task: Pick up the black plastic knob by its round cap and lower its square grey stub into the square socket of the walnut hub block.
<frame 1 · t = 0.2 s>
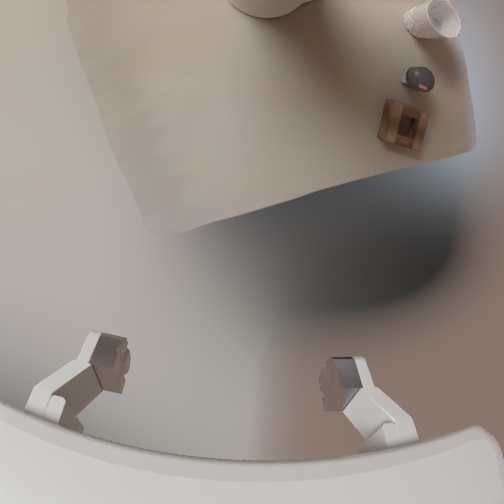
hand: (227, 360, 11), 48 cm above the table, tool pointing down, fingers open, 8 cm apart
knob: (408, 78, 44), on the table
white cup: (416, 23, 38), on the table
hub: (398, 123, 50), on the table
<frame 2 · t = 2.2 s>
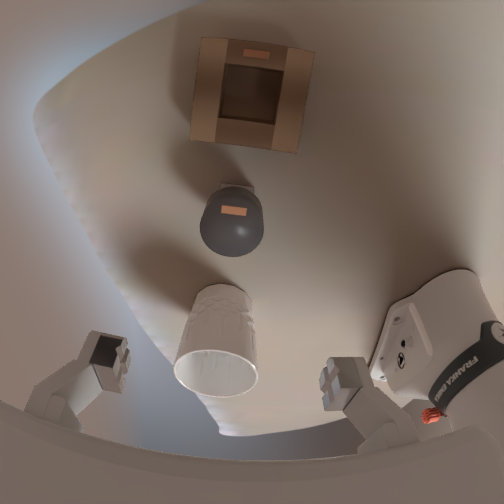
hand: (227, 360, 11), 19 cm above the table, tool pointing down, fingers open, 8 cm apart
knob: (235, 200, 28), on the table
white cup: (223, 304, 34), on the table
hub: (250, 92, 22), on the table
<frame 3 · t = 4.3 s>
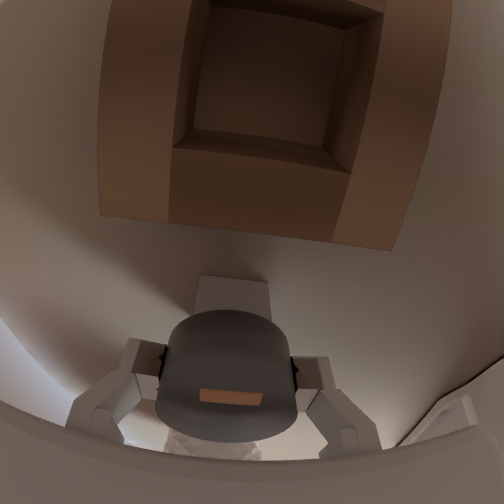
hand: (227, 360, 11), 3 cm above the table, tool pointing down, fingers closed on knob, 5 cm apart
knob: (230, 303, 14), on the table, touching gripper
white cup: (214, 419, 21), on the table
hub: (267, 74, 9), on the table
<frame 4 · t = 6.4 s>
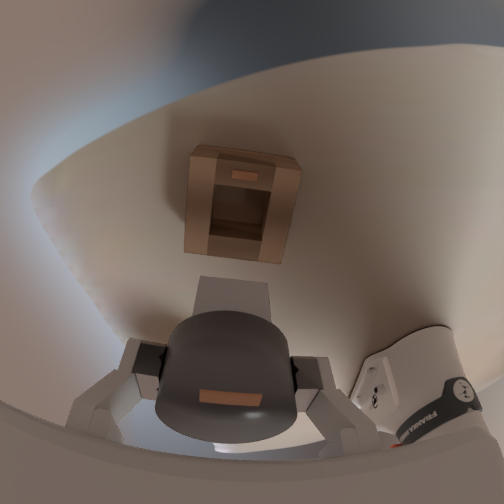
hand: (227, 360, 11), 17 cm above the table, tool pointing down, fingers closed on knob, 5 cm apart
knob: (230, 304, 14), point 14 cm above the table, touching gripper
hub: (239, 194, 26), on the table
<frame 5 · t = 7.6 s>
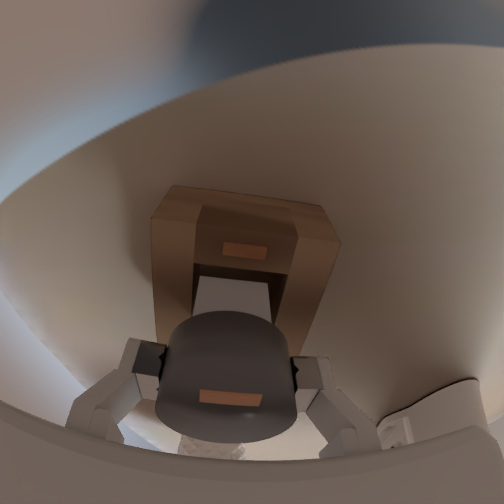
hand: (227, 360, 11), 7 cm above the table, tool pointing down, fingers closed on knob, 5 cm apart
knob: (230, 304, 14), point 4 cm above the table, touching gripper
white cup: (213, 425, 30), on the table
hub: (237, 258, 18), on the table
when the fingers open (5 cm above the table, at t = 8.3 s): knob stays where it is, resting on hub.
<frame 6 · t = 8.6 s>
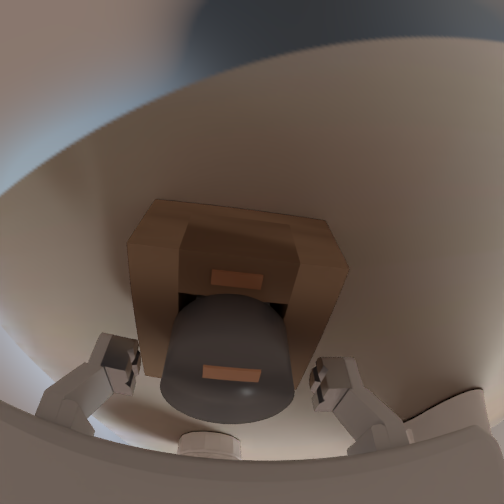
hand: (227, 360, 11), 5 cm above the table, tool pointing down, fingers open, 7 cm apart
knob: (231, 292, 15), point 1 cm above the table, touching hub
white cup: (210, 440, 28), on the table
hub: (231, 279, 16), on the table
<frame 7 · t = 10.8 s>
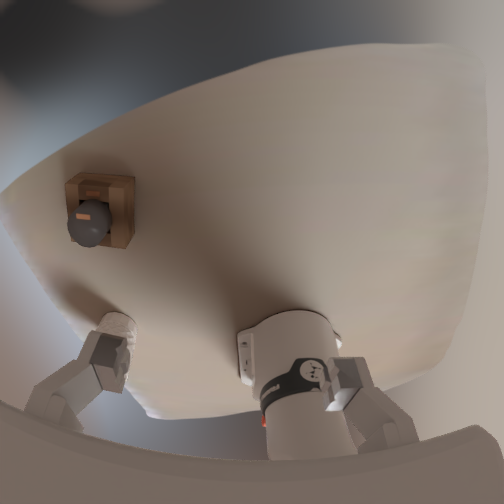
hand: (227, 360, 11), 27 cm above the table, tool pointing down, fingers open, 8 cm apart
knob: (104, 206, 35), point 1 cm above the table, touching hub
white cup: (120, 324, 48), on the table
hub: (106, 203, 36), on the table
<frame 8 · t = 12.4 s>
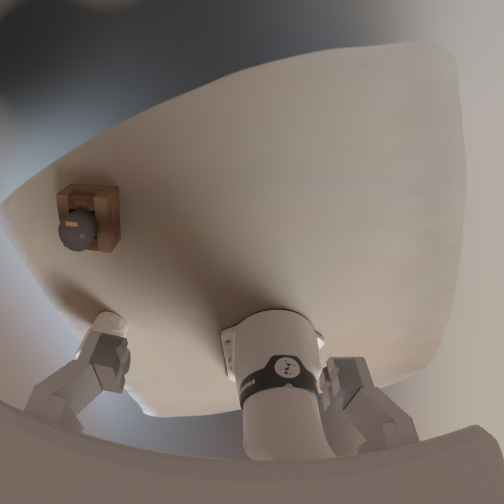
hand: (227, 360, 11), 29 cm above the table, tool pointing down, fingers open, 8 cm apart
knob: (92, 214, 38), point 1 cm above the table, touching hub
white cup: (112, 323, 51), on the table
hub: (94, 211, 39), on the table
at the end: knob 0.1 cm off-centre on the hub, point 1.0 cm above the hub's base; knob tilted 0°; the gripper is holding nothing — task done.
